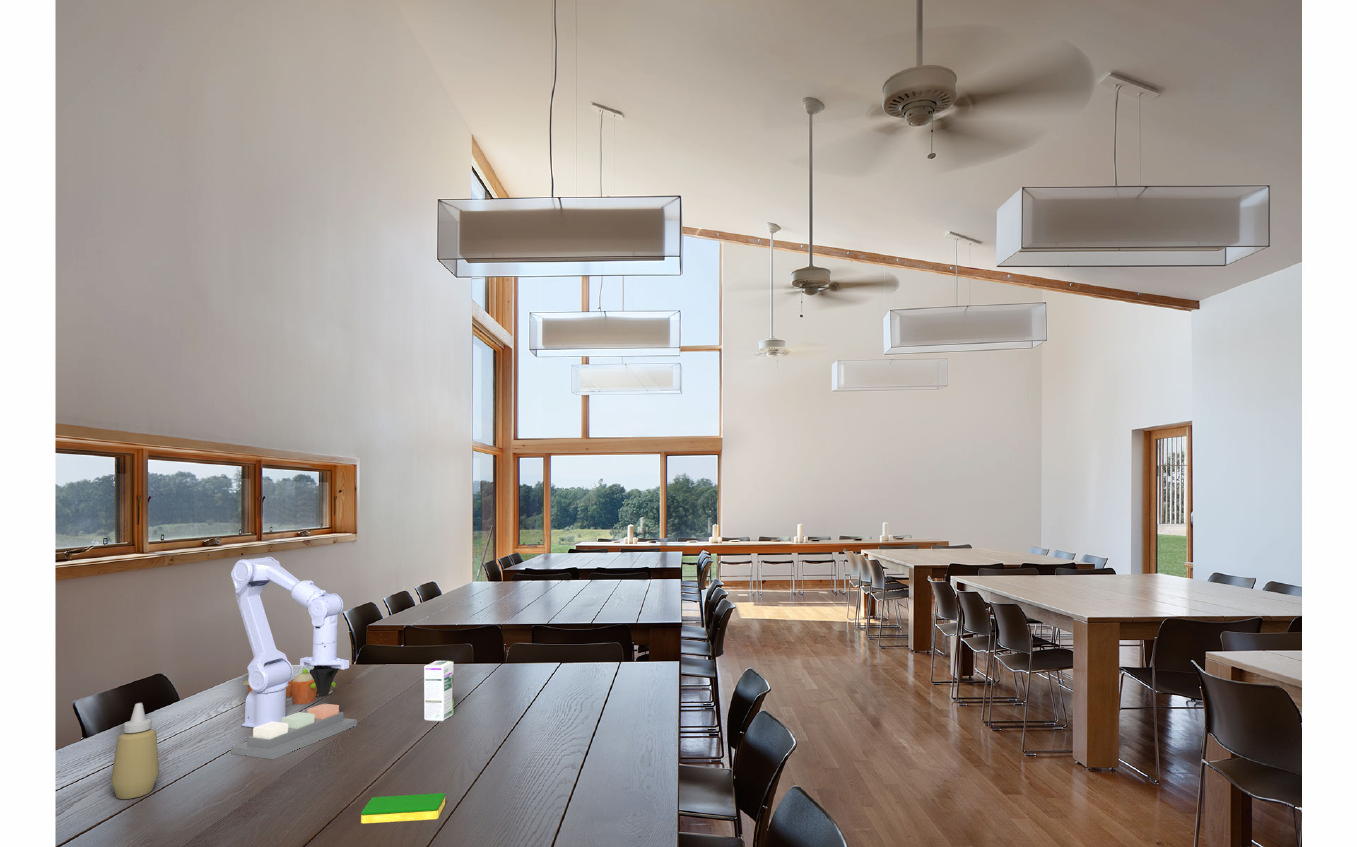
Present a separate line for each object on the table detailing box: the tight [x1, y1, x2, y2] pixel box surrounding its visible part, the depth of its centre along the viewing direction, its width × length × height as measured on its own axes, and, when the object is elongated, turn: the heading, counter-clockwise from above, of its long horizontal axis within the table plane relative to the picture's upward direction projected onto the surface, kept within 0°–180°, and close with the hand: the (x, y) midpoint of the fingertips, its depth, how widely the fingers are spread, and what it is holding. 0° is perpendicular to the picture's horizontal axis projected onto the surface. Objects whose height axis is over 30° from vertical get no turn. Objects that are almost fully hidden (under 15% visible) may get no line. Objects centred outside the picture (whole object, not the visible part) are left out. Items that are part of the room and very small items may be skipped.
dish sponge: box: [360, 792, 446, 824], centre depth 142 cm, size 7×14×2 cm, turn 96°
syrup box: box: [423, 660, 455, 722], centre depth 202 cm, size 6×6×14 cm
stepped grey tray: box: [230, 711, 358, 760], centre depth 186 cm, size 13×26×4 cm, turn 160°
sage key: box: [281, 711, 315, 729], centre depth 187 cm, size 5×5×2 cm
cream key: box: [252, 721, 288, 739], centre depth 179 cm, size 5×5×2 cm
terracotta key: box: [306, 703, 340, 719], centre depth 194 cm, size 5×5×2 cm
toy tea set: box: [242, 668, 337, 705], centre depth 224 cm, size 26×16×10 cm, turn 94°
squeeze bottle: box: [110, 702, 160, 800], centre depth 154 cm, size 8×8×18 cm
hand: (323, 695), depth 194 cm, fingers closed
